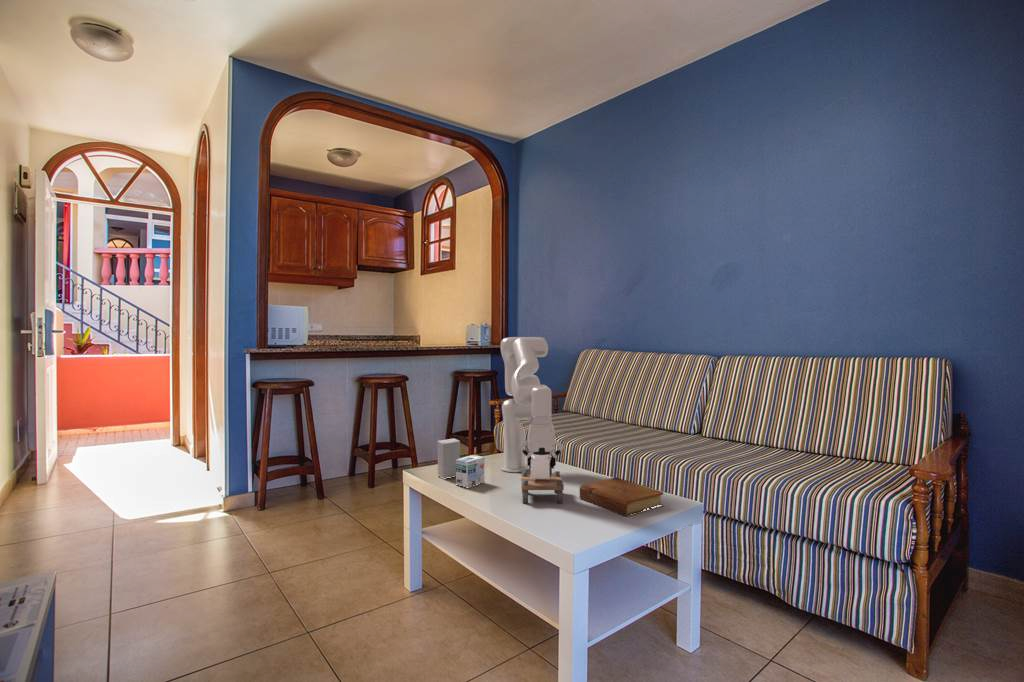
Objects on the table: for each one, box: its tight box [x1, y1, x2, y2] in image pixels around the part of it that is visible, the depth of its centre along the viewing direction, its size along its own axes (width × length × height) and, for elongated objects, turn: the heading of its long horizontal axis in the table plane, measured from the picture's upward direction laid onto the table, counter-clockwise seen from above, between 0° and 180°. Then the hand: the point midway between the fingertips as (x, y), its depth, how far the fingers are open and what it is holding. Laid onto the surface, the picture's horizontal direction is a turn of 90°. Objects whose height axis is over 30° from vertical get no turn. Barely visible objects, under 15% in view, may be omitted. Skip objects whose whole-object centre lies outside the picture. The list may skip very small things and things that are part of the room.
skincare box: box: [437, 438, 461, 478], centre depth 225 cm, size 8×7×16 cm
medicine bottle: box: [530, 448, 553, 479], centre depth 196 cm, size 7×7×12 cm
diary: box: [579, 477, 664, 517], centre depth 190 cm, size 23×19×6 cm
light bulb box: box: [455, 454, 485, 488], centre depth 214 cm, size 11×7×11 cm, turn 143°
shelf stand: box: [520, 470, 565, 505], centre depth 196 cm, size 15×15×8 cm
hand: (541, 467), depth 196 cm, fingers closed on medicine bottle, 7 cm apart
